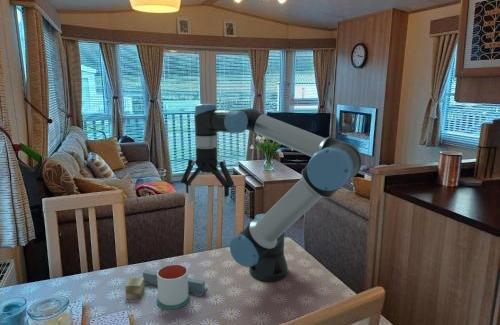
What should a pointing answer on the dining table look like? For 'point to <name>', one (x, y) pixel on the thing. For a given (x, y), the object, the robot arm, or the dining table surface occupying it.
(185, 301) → the coaster
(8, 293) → the dining table surface
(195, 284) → the rail
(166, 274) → the cup
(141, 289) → the oak block
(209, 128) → the robot arm
